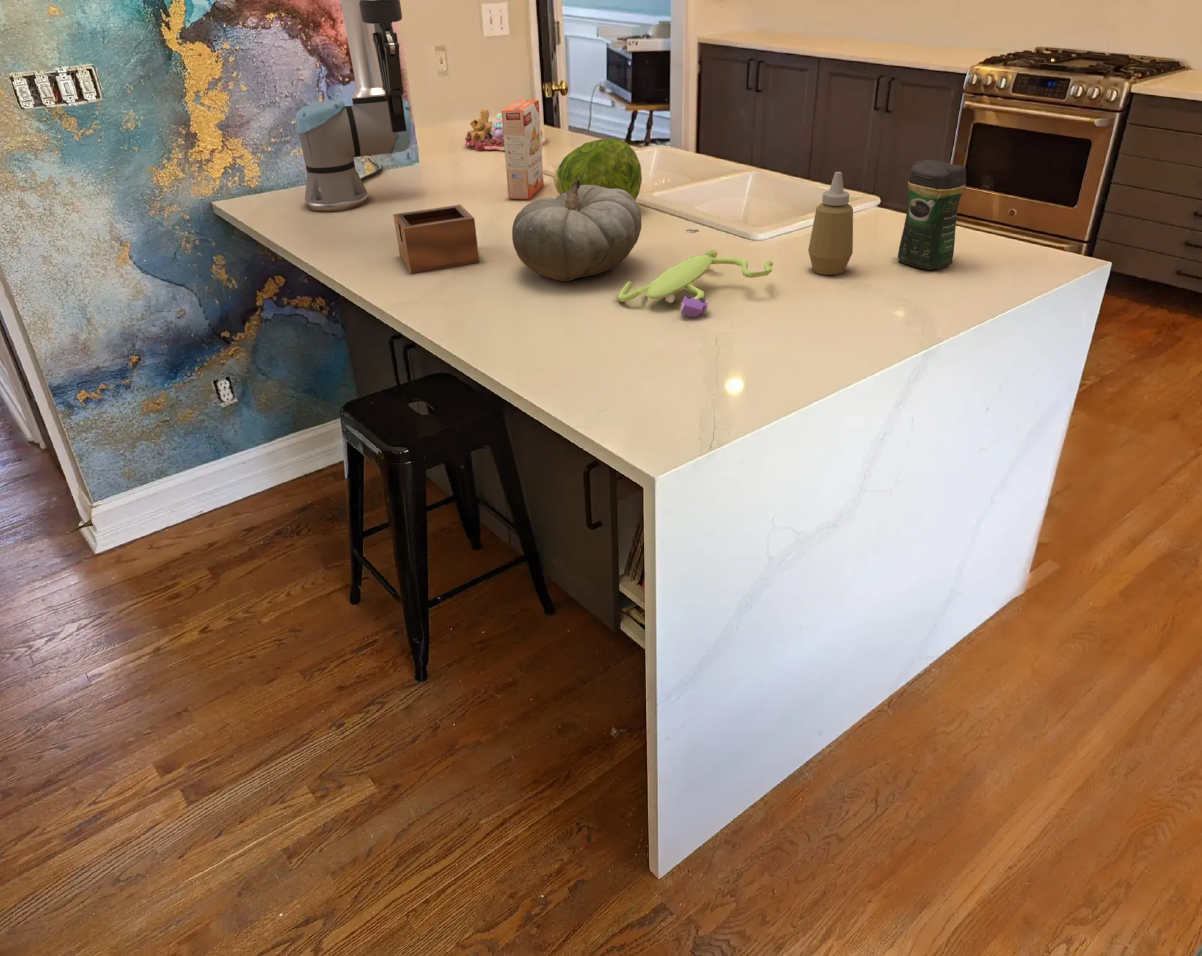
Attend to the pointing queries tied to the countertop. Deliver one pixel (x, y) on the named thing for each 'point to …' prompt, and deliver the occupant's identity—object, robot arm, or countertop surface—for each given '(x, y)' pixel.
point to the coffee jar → (931, 214)
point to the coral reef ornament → (488, 133)
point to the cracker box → (523, 148)
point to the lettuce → (601, 167)
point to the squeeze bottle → (832, 231)
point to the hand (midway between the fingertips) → (399, 130)
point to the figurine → (688, 281)
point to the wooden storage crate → (436, 238)
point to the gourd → (577, 232)
